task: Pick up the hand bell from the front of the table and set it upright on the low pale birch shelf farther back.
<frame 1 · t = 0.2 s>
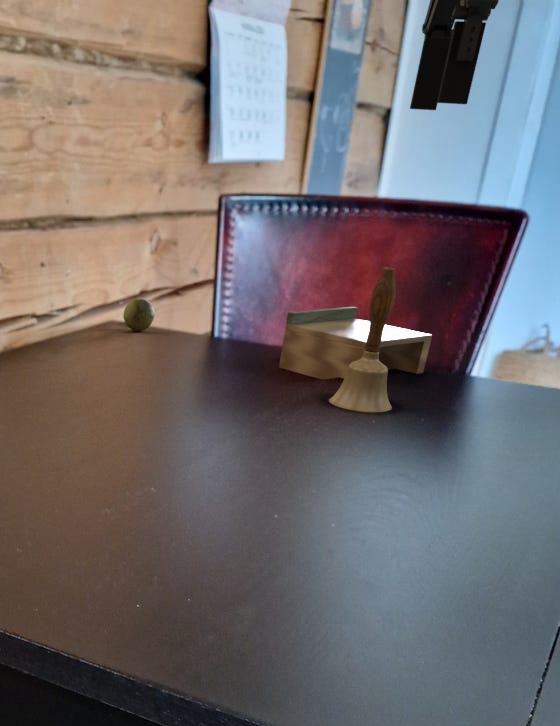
hand: (436, 107, 90), 31 cm above the table, tool pointing down, fingers open, 13 cm apart
lime: (138, 332, 141), on the table
shelf: (349, 373, 121), on the table
hand bell: (358, 413, 103), on the table
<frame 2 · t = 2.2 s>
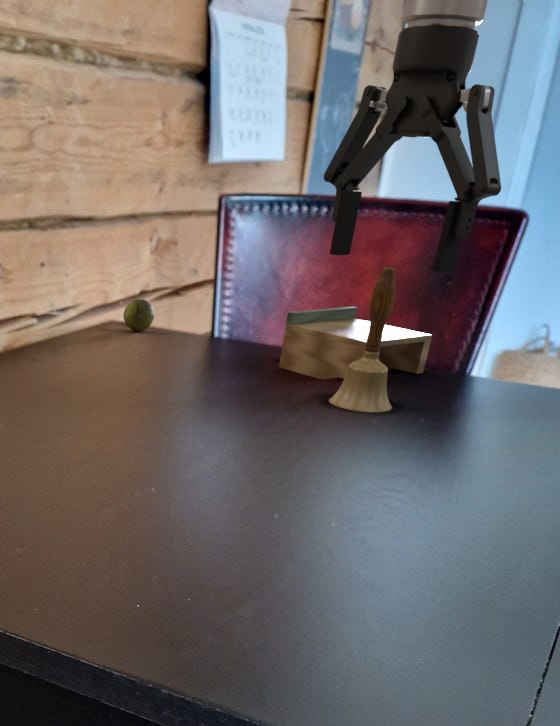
hand: (388, 262, 94), 16 cm above the table, tool pointing down, fingers open, 13 cm apart
nothing on the table moved.
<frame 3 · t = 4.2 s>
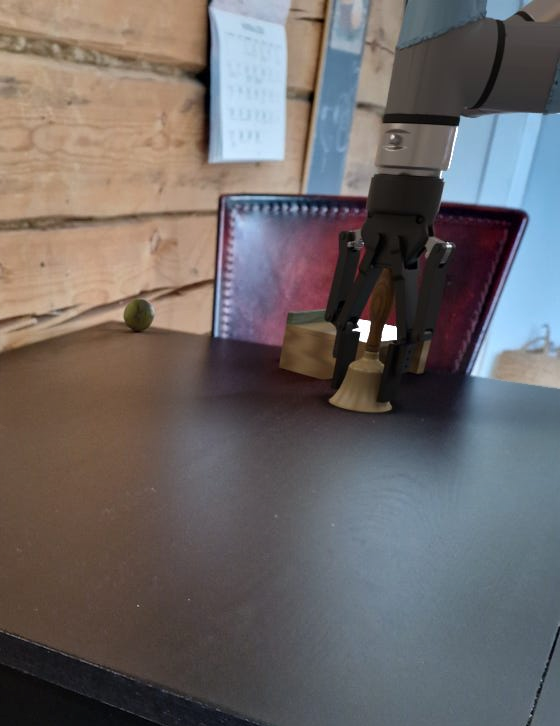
hand: (362, 393, 102), 2 cm above the table, tool pointing down, fingers closed on hand bell, 6 cm apart
hand bell: (358, 413, 103), on the table, touching gripper
everything else where it was.
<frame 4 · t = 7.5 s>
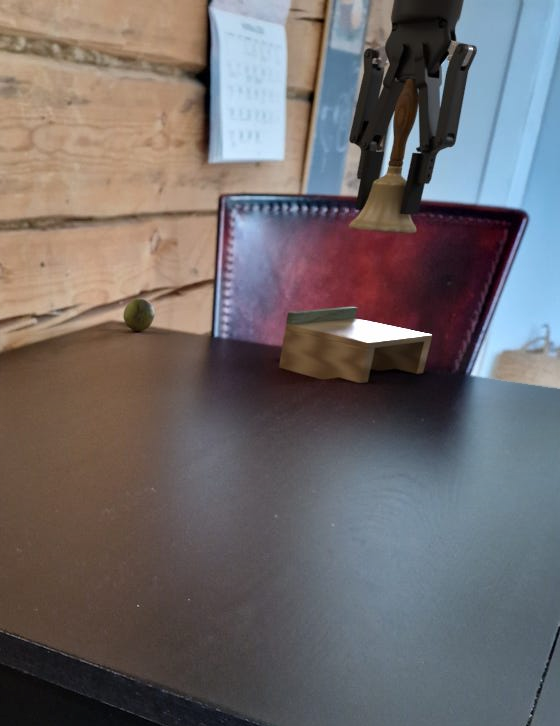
hand: (386, 211, 107), 21 cm above the table, tool pointing down, fingers closed on hand bell, 6 cm apart
hand bell: (381, 231, 108), point 18 cm above the table, touching gripper
everything else where it was.
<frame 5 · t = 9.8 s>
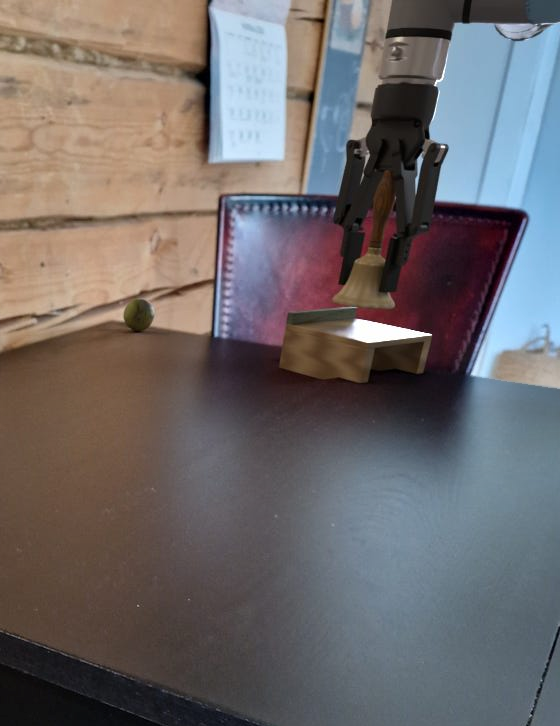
hand: (366, 287, 115), 11 cm above the table, tool pointing down, fingers closed on hand bell, 6 cm apart
hand bell: (362, 305, 116), point 9 cm above the table, touching gripper
everything else where it was.
when the fingers open (8 cm above the table, at t = 10.9 s): hand bell stays where it is, resting on shelf.
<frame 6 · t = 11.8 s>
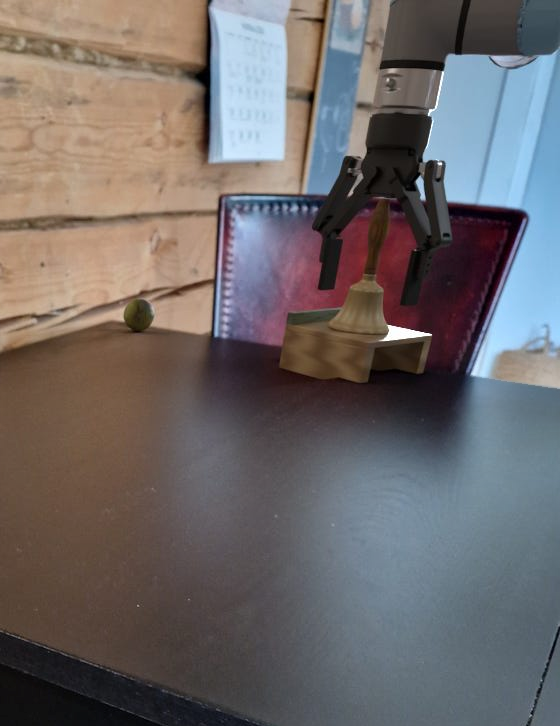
hand: (365, 297, 116), 10 cm above the table, tool pointing down, fingers open, 13 cm apart
hand bell: (358, 330, 118), point 6 cm above the table, touching shelf
everything else where it was.
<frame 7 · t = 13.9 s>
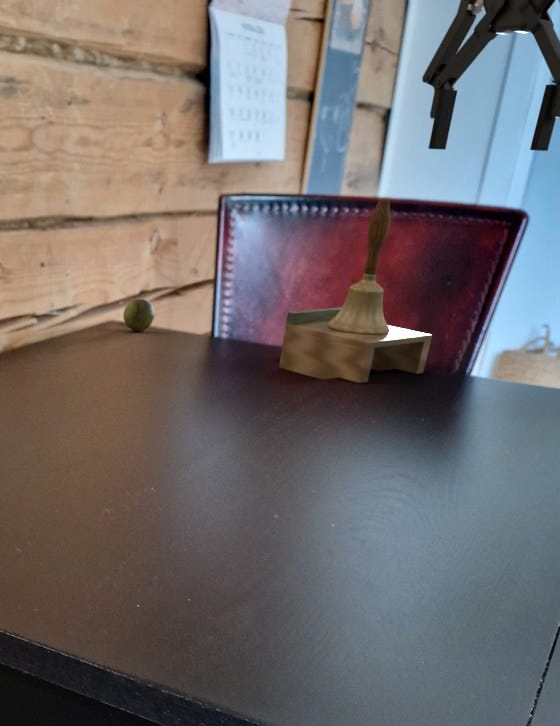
hand: (485, 150, 106), 28 cm above the table, tool pointing down, fingers open, 13 cm apart
nothing on the table moved.
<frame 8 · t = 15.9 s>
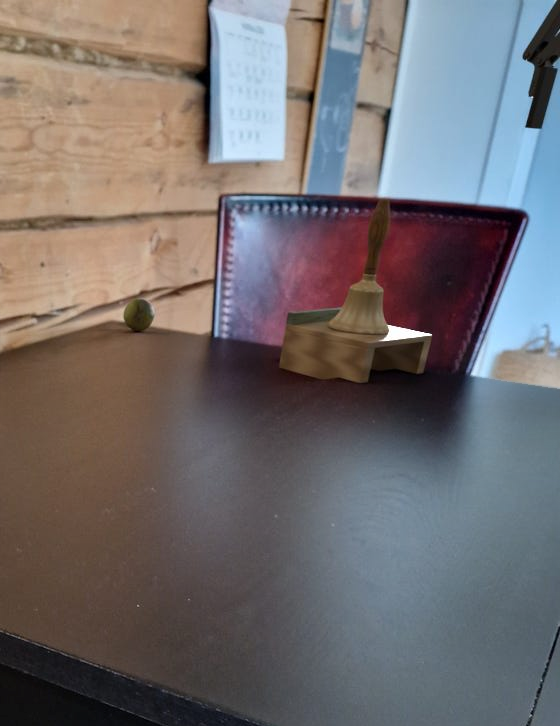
nothing on the table moved.
at the end: hand bell inside the target area on the shelf (0.0 cm from its centre), point 5.8 cm above the shelf's base; hand bell tilted 0°; the gripper is holding nothing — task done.
